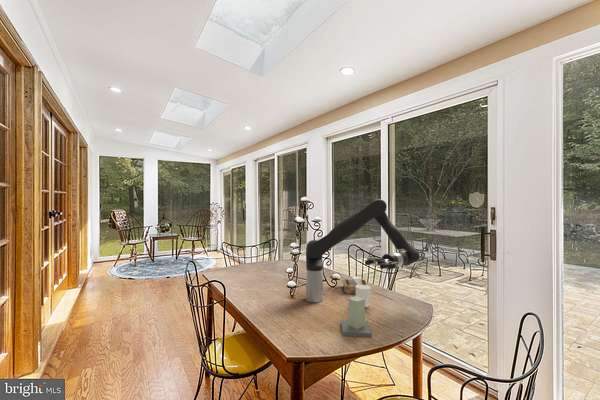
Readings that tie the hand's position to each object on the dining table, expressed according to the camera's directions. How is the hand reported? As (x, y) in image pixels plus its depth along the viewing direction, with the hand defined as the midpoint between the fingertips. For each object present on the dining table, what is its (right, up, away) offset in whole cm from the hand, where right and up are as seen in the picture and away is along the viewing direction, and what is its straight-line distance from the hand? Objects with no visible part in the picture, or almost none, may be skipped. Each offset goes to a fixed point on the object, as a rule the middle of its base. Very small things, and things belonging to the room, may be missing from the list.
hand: (373, 264), depth 143 cm
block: (-9, -25, -9) cm, 28 cm away
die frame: (0, -25, +45) cm, 52 cm away
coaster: (-10, -26, -10) cm, 30 cm away
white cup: (-1, -26, +19) cm, 32 cm away
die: (0, -26, +45) cm, 52 cm away
